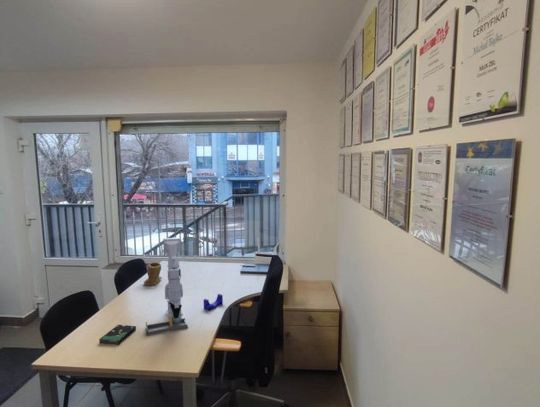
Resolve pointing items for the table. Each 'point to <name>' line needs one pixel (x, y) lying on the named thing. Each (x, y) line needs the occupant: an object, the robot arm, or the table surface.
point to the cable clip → (211, 306)
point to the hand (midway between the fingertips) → (175, 315)
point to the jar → (176, 318)
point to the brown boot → (153, 273)
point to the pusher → (170, 320)
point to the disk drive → (117, 335)
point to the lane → (164, 327)
